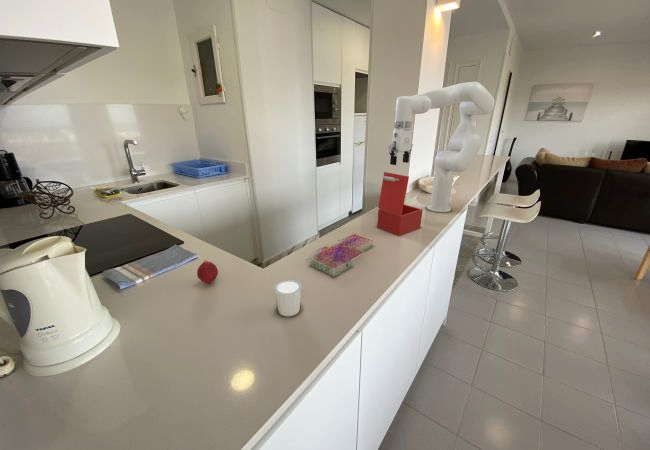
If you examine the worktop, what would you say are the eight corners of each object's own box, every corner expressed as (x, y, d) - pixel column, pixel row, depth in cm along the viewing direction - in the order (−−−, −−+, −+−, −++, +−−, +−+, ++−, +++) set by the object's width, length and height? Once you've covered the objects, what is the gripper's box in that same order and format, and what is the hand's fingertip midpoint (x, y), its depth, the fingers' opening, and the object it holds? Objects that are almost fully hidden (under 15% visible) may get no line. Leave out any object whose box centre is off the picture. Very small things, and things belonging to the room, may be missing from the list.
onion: (223, 279, 87) (219, 257, 84) (210, 289, 82) (206, 265, 79) (208, 276, 89) (204, 254, 86) (194, 285, 84) (190, 262, 81)
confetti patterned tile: (352, 237, 118) (352, 226, 116) (382, 248, 108) (383, 236, 106) (299, 262, 97) (299, 249, 95) (331, 278, 88) (331, 264, 86)
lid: (385, 172, 121) (377, 171, 118) (409, 176, 112) (401, 176, 109) (379, 208, 126) (371, 208, 123) (401, 215, 117) (393, 216, 113)
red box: (398, 220, 138) (400, 203, 135) (420, 227, 129) (422, 209, 125) (377, 227, 129) (378, 209, 126) (398, 235, 120) (401, 216, 117)
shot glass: (291, 321, 69) (290, 298, 67) (270, 311, 73) (268, 289, 70) (307, 306, 75) (306, 284, 72) (287, 298, 78) (286, 276, 75)
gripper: (397, 126, 119) (394, 166, 125) (420, 125, 129) (416, 162, 135) (384, 126, 124) (381, 164, 131) (407, 125, 135) (403, 160, 141)
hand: (399, 163), depth 133 cm, fingers open, 9 cm apart
